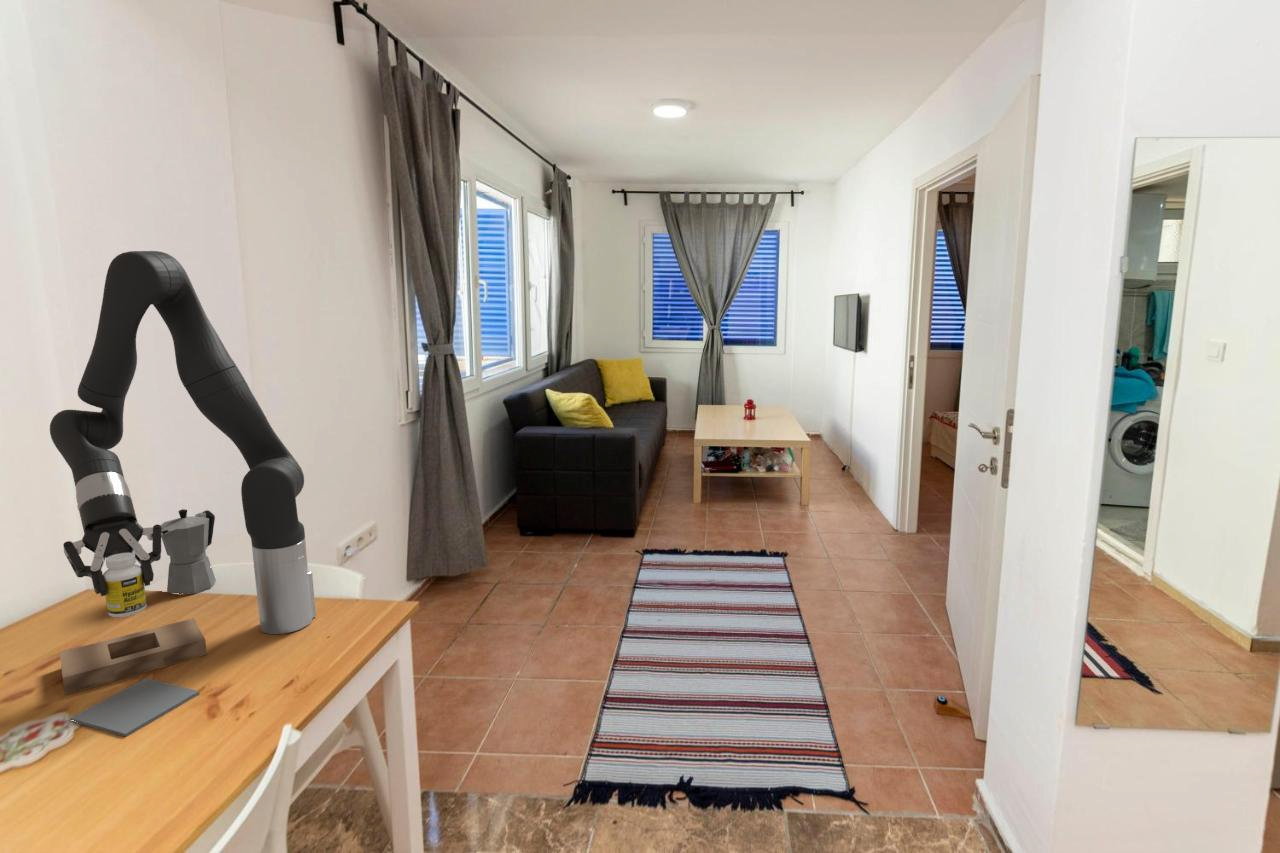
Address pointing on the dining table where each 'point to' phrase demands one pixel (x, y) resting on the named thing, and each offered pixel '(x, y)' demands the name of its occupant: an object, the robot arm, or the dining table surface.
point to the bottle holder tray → (101, 666)
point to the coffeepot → (189, 552)
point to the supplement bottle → (124, 585)
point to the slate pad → (134, 706)
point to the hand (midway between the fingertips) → (126, 588)
